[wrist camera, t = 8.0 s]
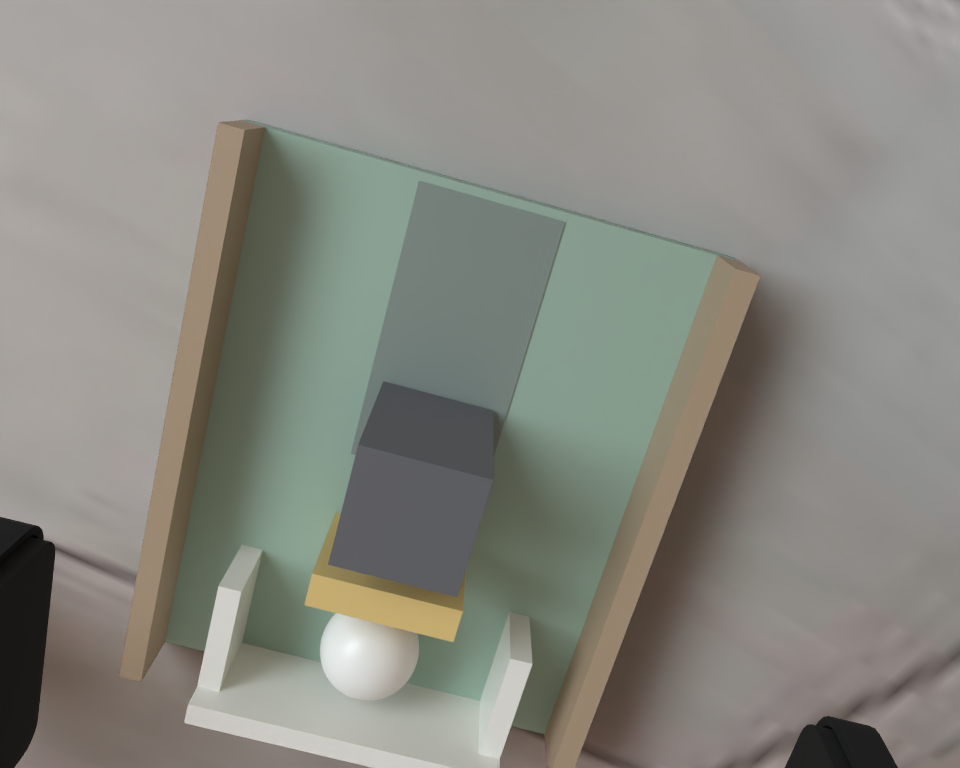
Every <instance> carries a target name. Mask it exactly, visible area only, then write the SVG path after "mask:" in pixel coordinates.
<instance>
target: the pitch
mask: <svg viewBox="0 0 960 768" xmlns="http://www.w3.org/2000/svg"><path fill="white" fill-rule="evenodd" d="M759 278H760V275H758V274H757V273H755V272H754V271H752V270H751V269H750V268H748V267H747V266H745V265H744V264H742V263H741V262H739V261H738V260H736V259H735V258H733V257H730V256H726V255H722V254H719V253H715V252H712V251H708V250H705V249H701V248H698V247H694V246H691V245H687V244H684V243H680V242H677V241H673V240H670V239H666V238H663V237H659V236H656V235H652V234H648V233H645V232H641V231H638V230H634V229H631V228H627V227H624V226H620V225H617V224H613V223H610V222H606V221H603V220H599V219H596V218H592V217H589V216H585V215H582V214H578V213H574V212H571V211H567V210H564V209H560V208H557V207H553V206H550V205H546V204H543V203H539V202H536V201H532V200H529V199H525V198H522V197H518V196H515V195H511V194H507V193H504V192H500V191H497V190H493V189H490V188H486V187H483V186H479V185H476V184H472V183H469V182H465V181H462V180H458V179H455V178H451V177H448V176H444V175H441V174H437V173H433V172H430V171H426V170H423V169H419V168H416V167H412V166H409V165H405V164H402V163H398V162H395V161H391V160H388V159H384V158H381V157H377V156H374V155H370V154H367V153H363V152H359V151H356V150H352V149H349V148H345V147H342V146H338V145H335V144H331V143H328V142H324V141H321V140H317V139H314V138H310V137H307V136H303V135H300V134H296V133H293V132H289V131H285V130H282V129H278V128H275V127H271V126H268V125H264V124H261V123H257V122H254V121H250V120H239V121H228V122H218V126H217V131H216V137H215V143H214V148H213V154H212V159H211V165H210V170H209V176H208V182H207V187H206V193H205V198H204V204H203V210H202V215H201V221H200V226H199V232H198V238H197V243H196V249H195V254H194V260H193V266H192V271H191V277H190V282H189V288H188V293H187V299H186V305H185V310H184V316H183V321H182V327H181V333H180V338H179V344H178V349H177V355H176V361H175V366H174V372H173V377H172V383H171V389H170V394H169V400H168V405H167V411H166V416H165V422H164V428H163V433H162V439H161V444H160V450H159V456H158V461H157V467H156V472H155V478H154V484H153V489H152V495H151V500H150V506H149V511H148V517H147V523H146V528H145V534H144V539H143V545H142V551H141V556H140V562H139V567H138V573H137V579H136V584H135V590H134V595H133V601H132V607H131V612H130V618H129V623H128V629H127V634H126V640H125V646H124V651H123V657H122V662H121V668H120V674H119V677H122V678H126V679H131V680H135V681H139V682H141V681H142V679H143V677H144V676H145V674H146V673H147V671H148V669H149V668H150V666H151V664H152V663H153V661H154V659H155V658H156V656H157V654H158V653H159V651H160V649H161V648H162V646H163V645H164V643H165V642H167V643H171V644H175V645H179V646H183V647H187V648H192V649H196V650H200V651H204V652H205V647H206V642H207V638H208V633H209V628H210V623H211V619H212V614H213V609H214V605H215V600H216V595H217V590H218V586H219V584H220V582H221V581H222V579H223V577H224V575H225V574H226V572H227V570H228V568H229V567H230V565H231V563H232V561H233V560H234V558H235V556H236V554H237V552H238V551H239V549H240V547H241V545H246V546H250V547H254V548H258V549H262V550H263V552H262V556H261V561H260V565H259V570H258V574H257V578H256V583H255V587H254V592H253V596H252V601H251V605H250V609H249V614H248V618H247V623H246V627H245V632H244V636H243V640H242V643H245V644H249V645H253V646H257V647H261V648H265V649H269V650H273V651H277V652H281V653H286V654H290V655H294V656H298V657H302V658H306V659H310V660H314V661H318V662H321V659H320V643H321V638H322V635H323V632H324V630H325V627H326V626H327V624H328V622H329V621H330V619H331V618H332V617H333V616H334V614H335V613H334V612H330V611H326V610H322V609H318V608H314V607H309V606H305V605H304V604H305V600H306V596H307V592H308V588H309V584H310V580H311V576H312V573H313V570H314V567H315V565H316V562H317V560H318V557H319V554H320V552H321V549H322V547H323V544H324V541H325V539H326V536H327V534H328V531H329V528H330V526H331V523H332V521H333V518H334V515H335V513H338V514H341V511H342V507H343V503H344V499H345V495H346V491H347V487H348V483H349V479H350V475H351V471H352V467H353V463H354V459H355V455H356V451H357V447H358V444H359V441H360V439H361V436H362V434H363V431H364V429H365V426H366V424H367V421H368V419H369V416H370V414H371V411H372V408H373V406H374V403H375V401H376V398H377V396H378V393H379V391H380V388H381V386H382V383H383V381H385V382H388V383H392V384H396V385H400V386H403V387H407V388H411V389H415V390H418V391H422V392H426V393H430V394H433V395H437V396H441V397H445V398H448V399H452V400H456V401H459V402H463V403H467V404H471V405H474V406H478V407H482V408H486V409H489V410H493V411H494V433H493V482H492V485H491V489H490V492H489V495H488V499H487V502H486V505H485V508H484V512H483V515H482V518H481V521H480V525H479V528H478V531H477V534H476V538H475V541H474V544H473V548H472V551H471V554H470V557H469V561H468V564H467V567H466V572H465V587H464V603H463V613H462V616H461V619H460V623H459V626H458V629H457V632H456V635H455V639H454V642H450V641H446V640H442V639H438V638H434V637H430V636H426V635H422V634H418V633H417V635H418V639H419V657H418V661H417V665H416V667H415V669H414V672H413V674H412V675H411V677H410V678H409V680H408V681H407V682H406V683H408V684H412V685H417V686H421V687H425V688H429V689H433V690H437V691H441V692H445V693H449V694H453V695H457V696H462V697H466V698H470V699H474V700H478V701H480V699H481V696H482V693H483V690H484V687H485V684H486V681H487V678H488V675H489V672H490V669H491V666H492V663H493V660H494V657H495V654H496V651H497V648H498V645H499V642H500V638H501V635H502V632H503V629H504V626H505V623H506V620H507V617H508V614H509V612H512V613H516V614H520V615H524V616H528V617H529V619H530V634H531V649H532V667H531V670H530V673H529V676H528V678H527V681H526V684H525V687H524V690H523V693H522V696H521V699H520V702H519V705H518V707H517V710H516V713H515V716H514V719H513V722H512V725H511V726H512V727H517V728H521V729H525V730H529V731H533V732H537V733H541V734H544V736H545V749H546V762H547V768H575V765H576V763H577V760H578V757H579V755H580V752H581V750H582V747H583V744H584V742H585V739H586V736H587V734H588V731H589V728H590V726H591V723H592V720H593V718H594V715H595V712H596V710H597V707H598V705H599V702H600V699H601V697H602V694H603V691H604V689H605V686H606V683H607V681H608V678H609V675H610V673H611V670H612V667H613V665H614V662H615V660H616V657H617V654H618V652H619V649H620V646H621V644H622V641H623V638H624V636H625V633H626V630H627V628H628V625H629V622H630V620H631V617H632V615H633V612H634V609H635V607H636V604H637V601H638V599H639V596H640V593H641V591H642V588H643V585H644V583H645V580H646V577H647V575H648V572H649V570H650V567H651V564H652V562H653V559H654V556H655V554H656V551H657V548H658V546H659V543H660V540H661V538H662V535H663V532H664V530H665V527H666V525H667V522H668V519H669V517H670V514H671V511H672V509H673V506H674V503H675V501H676V498H677V495H678V493H679V490H680V487H681V485H682V482H683V480H684V477H685V474H686V472H687V469H688V466H689V464H690V461H691V458H692V456H693V453H694V450H695V448H696V445H697V442H698V440H699V437H700V435H701V432H702V429H703V427H704V424H705V421H706V419H707V416H708V413H709V411H710V408H711V405H712V403H713V400H714V397H715V395H716V392H717V390H718V387H719V384H720V382H721V379H722V376H723V374H724V371H725V368H726V366H727V363H728V360H729V358H730V355H731V352H732V350H733V347H734V345H735V342H736V339H737V337H738V334H739V331H740V329H741V326H742V323H743V321H744V318H745V315H746V313H747V310H748V307H749V305H750V302H751V300H752V297H753V294H754V292H755V289H756V286H757V284H758V281H759Z"/></svg>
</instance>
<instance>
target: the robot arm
mask: <svg viewBox="0 0 960 768" xmlns="http://www.w3.org/2000/svg"><path fill="white" fill-rule="evenodd" d="M54 560H55V546H54V544H53V543H52V542H49V541H45V540H43V532H42V529H41V528H40V527H39V526H36V525H31V524H27V523H23V522H19V521H15V520H11V519H6V518H2V517H0V768H14V767H15V766H16V764H17V763H18V762H19V760H20V759H21V758H22V756H23V755H24V753H25V752H26V750H27V748H28V746H29V744H30V742H31V740H32V738H33V735H34V733H35V729H36V726H37V721H38V712H39V703H40V693H41V684H42V674H43V665H44V655H45V646H46V636H47V627H48V617H49V608H50V598H51V589H52V579H53V570H54ZM785 768H898V767H897V765H896V764H895V762H894V760H893V758H892V756H891V754H890V753H889V751H888V749H887V747H886V745H885V743H884V742H883V740H882V738H881V736H880V734H879V733H878V732H877V731H876V729H875V728H873V727H871V726H867V725H863V724H859V723H855V722H851V721H847V720H842V719H838V718H834V717H830V716H827V717H823V718H822V719H821V720H820V721H818V723H817V725H812V724H810V725H807V726H806V727H804V729H803V730H802V732H801V734H800V736H799V738H798V740H797V742H796V745H795V747H794V749H793V751H792V753H791V756H790V758H789V760H788V762H787V764H786V767H785Z"/></svg>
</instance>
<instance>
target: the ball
mask: <svg viewBox="0 0 960 768" xmlns="http://www.w3.org/2000/svg"><path fill="white" fill-rule="evenodd" d="M418 657H419V639H418V635H417V633H414V632H410V631H406V630H402V629H398V628H394V627H390V626H386V625H382V624H378V623H374V622H370V621H366V620H362V619H358V618H354V617H350V616H346V615H342V614H338V613H335V614H334V616H333V617H332V618H331V619H330V621H329V622H328V624H327V626H326V627H325V630H324V632H323V635H322V638H321V643H320V659H321V664H322V667H323V670H324V673H325V675H326V677H327V678H328V680H329V681H330V683H331V684H332V685H333V686H334V687H335V688H336V689H337V690H338V691H340V692H341V693H342V694H344V695H346V696H348V697H350V698H353V699H356V700H362V701H374V700H379V699H383V698H386V697H388V696H390V695H392V694H394V693H395V692H397V691H398V690H399V689H401V688H402V687H403V686H404V685H405V684H406V682H407V681H408V680H409V678H410V677H411V675H412V674H413V672H414V669H415V667H416V665H417V661H418Z"/></svg>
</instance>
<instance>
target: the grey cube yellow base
mask: <svg viewBox="0 0 960 768" xmlns="http://www.w3.org/2000/svg"><path fill="white" fill-rule="evenodd" d="M493 433H494V411H493V410H489V409H486V408H482V407H478V406H474V405H471V404H467V403H463V402H459V401H456V400H452V399H448V398H445V397H441V396H437V395H433V394H430V393H426V392H422V391H418V390H415V389H411V388H407V387H403V386H400V385H396V384H392V383H388V382H385V381H383V383H382V386H381V388H380V391H379V393H378V396H377V398H376V401H375V403H374V406H373V408H372V411H371V414H370V416H369V419H368V421H367V424H366V426H365V429H364V431H363V434H362V436H361V439H360V441H359V444H358V447H357V451H356V455H355V459H354V463H353V467H352V471H351V475H350V479H349V483H348V487H347V491H346V495H345V499H344V503H343V507H342V511H341V514H338V513H335V515H334V518H333V521H332V523H331V526H330V528H329V531H328V534H327V536H326V539H325V541H324V544H323V547H322V549H321V552H320V554H319V557H318V560H317V562H316V565H315V567H314V570H313V573H312V576H311V580H310V584H309V588H308V592H307V596H306V600H305V604H304V605H305V606H309V607H314V608H318V609H322V610H326V611H330V612H334V613H338V614H342V615H346V616H350V617H354V618H358V619H362V620H366V621H370V622H374V623H378V624H382V625H386V626H390V627H394V628H398V629H402V630H406V631H410V632H414V633H418V634H422V635H426V636H430V637H434V638H438V639H442V640H446V641H450V642H454V639H455V635H456V632H457V629H458V626H459V623H460V619H461V616H462V613H463V603H464V587H465V572H466V567H467V564H468V561H469V557H470V554H471V551H472V548H473V544H474V541H475V538H476V534H477V531H478V528H479V525H480V521H481V518H482V515H483V512H484V508H485V505H486V502H487V499H488V495H489V492H490V489H491V485H492V482H493Z"/></svg>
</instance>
